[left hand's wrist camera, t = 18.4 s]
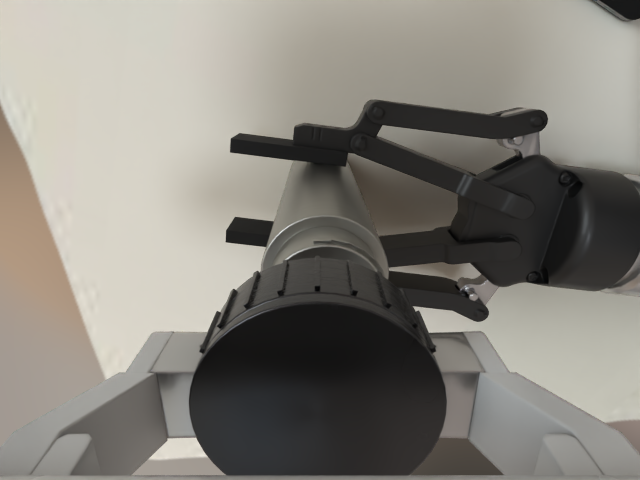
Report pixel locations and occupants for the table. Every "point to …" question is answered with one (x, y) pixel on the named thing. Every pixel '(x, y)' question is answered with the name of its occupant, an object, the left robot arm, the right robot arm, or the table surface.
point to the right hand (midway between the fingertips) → (233, 187)
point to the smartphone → (622, 8)
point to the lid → (317, 376)
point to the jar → (324, 220)
